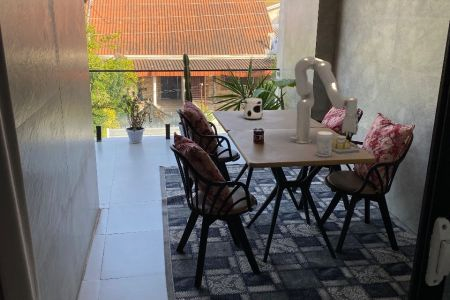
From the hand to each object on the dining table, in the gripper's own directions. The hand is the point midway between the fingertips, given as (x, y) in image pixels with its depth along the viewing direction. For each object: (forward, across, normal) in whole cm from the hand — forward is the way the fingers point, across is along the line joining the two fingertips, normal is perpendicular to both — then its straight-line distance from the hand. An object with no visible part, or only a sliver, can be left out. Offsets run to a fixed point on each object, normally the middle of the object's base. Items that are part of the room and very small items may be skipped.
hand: (348, 141), depth 303 cm
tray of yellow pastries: (+3, 0, +10) cm, 10 cm away
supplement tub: (+4, +1, +30) cm, 31 cm away
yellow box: (+2, +2, +8) cm, 8 cm away
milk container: (+3, +111, -30) cm, 115 cm away
